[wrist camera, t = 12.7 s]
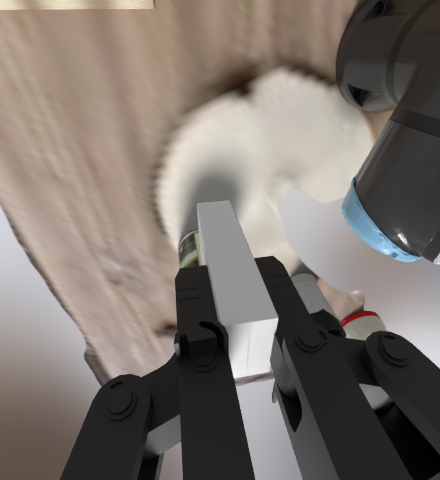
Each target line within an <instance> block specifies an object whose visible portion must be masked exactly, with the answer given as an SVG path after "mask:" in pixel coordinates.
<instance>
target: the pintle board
mask: <svg viewBox="0 0 440 480" xmlns="http://www.w3.org/2000/svg"><path fill="white" fill-rule="evenodd" d="M50 9H154V4H153V0H0V10H50Z"/></svg>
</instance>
